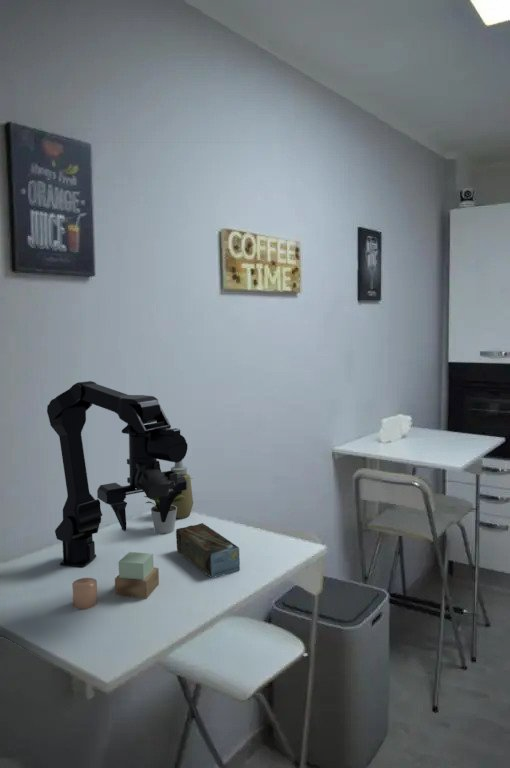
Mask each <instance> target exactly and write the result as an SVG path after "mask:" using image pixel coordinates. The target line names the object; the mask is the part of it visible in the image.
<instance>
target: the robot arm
mask: <svg viewBox="0 0 510 768" xmlns="http://www.w3.org/2000/svg"><path fill="white" fill-rule="evenodd" d="M93 405H94V406H97V407H99V408H102V409H105V410H107V411H111V412H113V413H115V414H117V416H118V418H119V419H120V420H121V421H122V422H124V423H126V424H127V425H126V426H125V427H124V428H122V430H121V434H127V435H128V455H129V456H128V458H127V459H126V464H127V465H128V466H129V477H127V478H126V479H127V481H126V482H127V483H128V484H129V485H123V486H122V485H121V484H118V483H117V482H112V483H111V482H110V483H107V484H106V483H105V484H100V485H99V486H98V488H97V490H96V491H97V492H96V493H97V497H96V499H95V498H94V496H93V495H92V494H91V493H90V488H89V480H88V472H87V465H86V460H85V459H86V458H85V451H84V445H83V438H82V437H83V436H82V431H83V429H84V426H85V424H86V421H87V411H88V409H90V408H91V407H92V406H93ZM46 413H47V417H48V420H49V424H50V425H49V426H51V428H52V429H53V430H54V432H55V433H56V434H57V436H58V437H59V444H60V451H61V457H62V458H61V459H62V464H63V471H64V479H65V485H66V486H65V487H66V492H67V494H66V495H67V497H66V501H65V502H64V506H63V508H62V521H61V522H60V523H59V524H58V526H57V527H56V529H55V530H54V533H55V537H56V540H58V541H61V542H62V558H63V559H62V560H61V561H60V562H59V565H60V566H72V567H73V566H74V567H84V568H85V567H86V566H87V565H88V564H89V563H91V562H92V561H93V560H94V559H96V557H97V554H96V549H95V545H96V544H95V541H94V539H93V535H94V534H98V533H99V528H100V524H101V522H102V517H103V513H102V510H101V501H102V502H103V503H104V504H106V505H109V506H110V507H111V509H112V510H113V512H114V514H115V516H116V518H117V521H118V523H119V526H120V529H121V531H123V532H127V515H126V513H127V512H126V509H127V505H128V502H126V501H125V500H126V499H127V496H129V495H134V494H140V493H144V494H145V496H147V497H148V498H147V497H146V498H147V499H149V498H150V499H149V500H151V499H155V498H156V497H159V503H160V517H161V522H163V523H164V522H165V521H166V518H167V515H168V512H169V509H170V507H171V504H172V502H173V500H174V498H175V497H177V496H178V495H180V494H181V493H182V491H183V490H187V480H186V478H185V477H184V476H181V475H179V474H177V473H176V471H175V470H171V469H170V470H167V471H162V469H161V463H160V460H161V461H166V462H169V463H174V464H175V463H178V462H180V461H182V462H183V460H184V458H186V454H187V451H188V443H187V440H186V438H185V437H184V435H182V434H181V429H180V428H172V425H171V423H170V421H169V419H168V418H167V416H166V414H165V412H164V410H163V409H162V407H161V404H160V402H159V399H158V398H157V397H155V396H154V395H153V396H152V395H145V394H136V395H135V394H127V393H124V392H120V391H118V390H115V389H112V388H109V387H106V386H104V385H101V384H99V383H97V382H95V381H91V380H88V381H78V382H76V383H74V384H73V385H72V386H71V387H70V388H69V389H66V390H65V391H64V392H62V393H60V394H58V395H57V396H56V397H54V398H52V399H51V400H50V401H49V404H47V408H46Z"/></svg>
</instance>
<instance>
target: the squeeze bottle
mask: <svg viewBox="0 0 510 768" xmlns="http://www.w3.org/2000/svg"><path fill="white" fill-rule="evenodd" d="M183 464H184V463H183V460H182V461H180V462H178V463H175V462H174V466H172V467H171V468H170V471H171V470H175V471H176V473H179V472H181V473H179V475H181V476H184V477H185V478H186V479H187V478H191V476H190V474H189V473H188V470H187V469H188V467H187V466H184V465H183ZM191 480H192V479H187V490H183V491H182V493H181V494H180V495H183V496H185V497H178V498H176V499H181V500H183V501H176V502H173V503H172V504H171V505H174V506H176V507H177V513H176V519H184V518H187V516H188V517H189V516H190V515H191V512H192V510H193V507H194V506H193V505H194V498H193V489H192V481H191ZM178 496H179V495H178ZM176 499H175V500H176ZM183 517H184V518H183Z"/></svg>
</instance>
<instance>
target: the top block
mask: <svg viewBox="0 0 510 768" xmlns="http://www.w3.org/2000/svg"><path fill="white" fill-rule="evenodd" d="M153 567H154V553H147V552H137V551H135V552H134V551H129V552H127V554H125V555H124V556H123V557H122V558H121V559H119V561H118V575H119V578H128V579H139V580H144V579H145V578H146V577H147V576H148V575H149V574H150V573H151V571H152V570H153Z"/></svg>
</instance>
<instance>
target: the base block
mask: <svg viewBox="0 0 510 768" xmlns="http://www.w3.org/2000/svg"><path fill="white" fill-rule="evenodd" d="M159 578H160V573H159V567H154V566H153V570H152V571H151V573H150V574H149V575H148V576H147V577H146V578H145V579H144V580H139V579H128V578H119V574H118V575H117V576H116V577H115V578H114V593H115V596H116V597H127V598H134V599H135V598H137V599H148V598H149V597H150V596H151V594H152V593H153V592H154V591H155V590H156V588H157V587H158V586H159V585H160V579H159Z"/></svg>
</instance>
